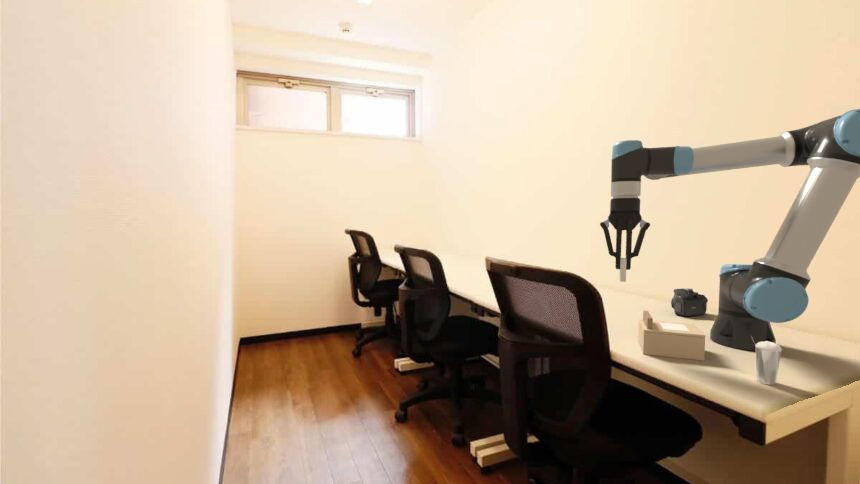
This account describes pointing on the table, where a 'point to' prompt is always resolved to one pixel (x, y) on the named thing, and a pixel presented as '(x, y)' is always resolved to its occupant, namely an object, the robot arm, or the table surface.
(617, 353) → the table surface
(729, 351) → the table surface
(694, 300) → the camera
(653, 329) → the lid
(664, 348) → the box
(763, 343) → the milkshake
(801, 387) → the table surface
